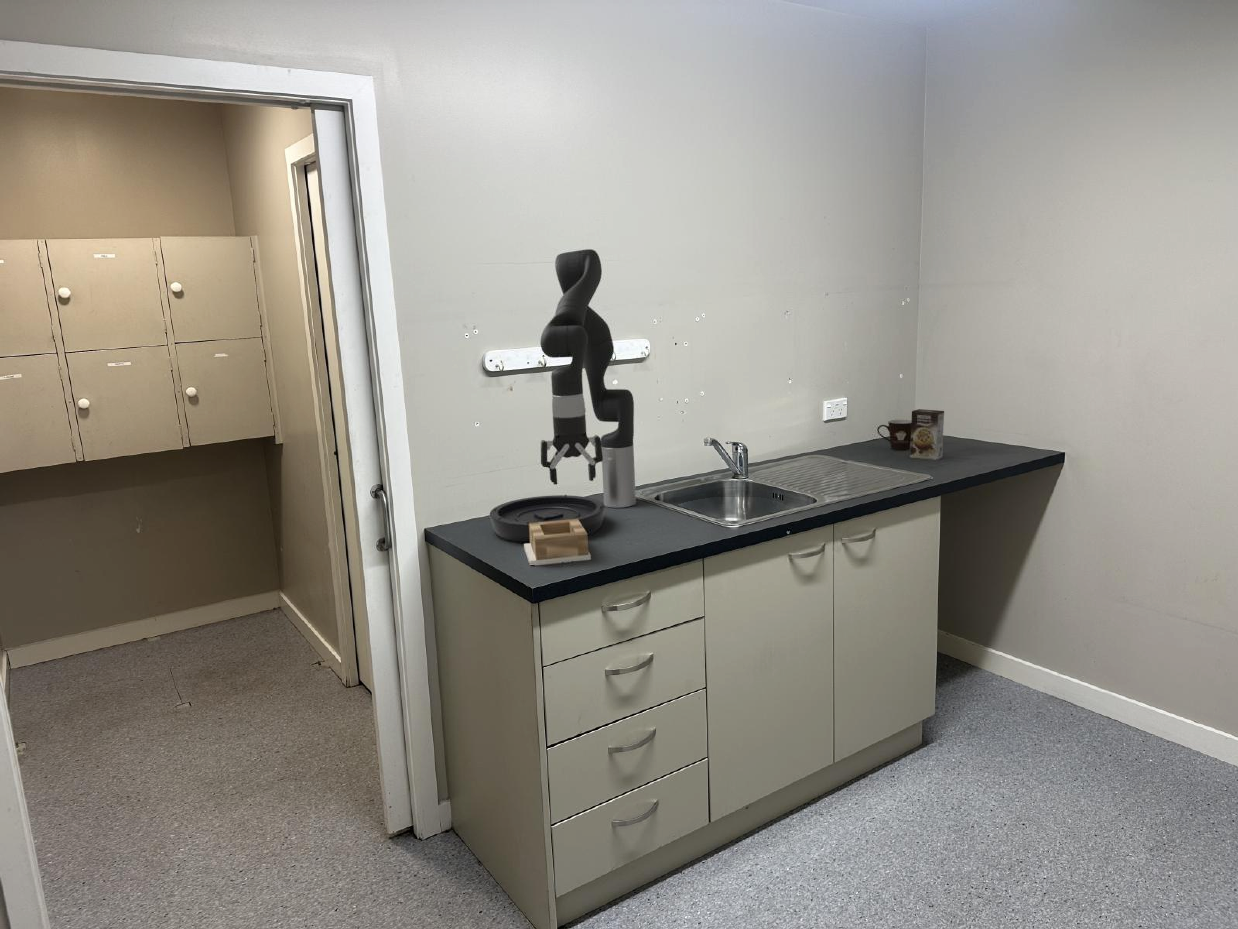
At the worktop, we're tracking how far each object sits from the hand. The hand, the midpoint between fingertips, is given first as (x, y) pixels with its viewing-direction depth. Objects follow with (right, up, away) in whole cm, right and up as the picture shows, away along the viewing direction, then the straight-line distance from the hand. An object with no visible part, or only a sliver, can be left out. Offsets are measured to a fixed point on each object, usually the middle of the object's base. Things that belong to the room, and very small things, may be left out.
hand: (573, 482), depth 199 cm
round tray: (-8, -13, +25) cm, 29 cm away
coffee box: (+116, +6, +91) cm, 147 cm away
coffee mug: (+111, +10, +108) cm, 155 cm away
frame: (-4, -16, +2) cm, 16 cm away
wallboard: (-4, -17, +2) cm, 18 cm away
